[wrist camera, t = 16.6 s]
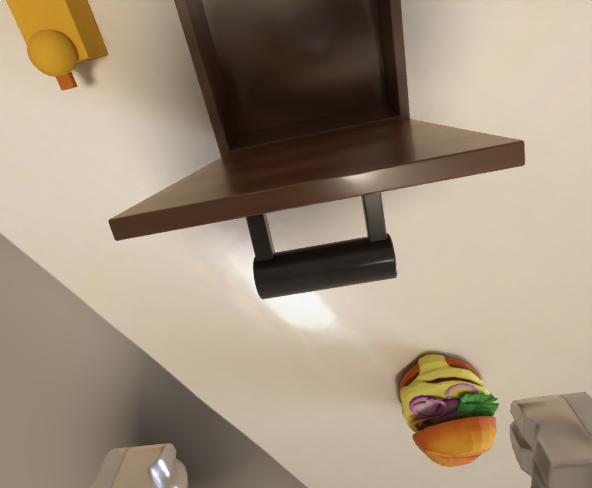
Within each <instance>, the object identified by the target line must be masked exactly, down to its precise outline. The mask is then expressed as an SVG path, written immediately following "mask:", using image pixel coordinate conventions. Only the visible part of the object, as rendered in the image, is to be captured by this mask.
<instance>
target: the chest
mask: <svg viewBox="0 0 592 488" xmlns="http://www.w3.org/2000/svg"><path fill="white" fill-rule="evenodd" d="M174 1H175V4H176V7H177V11H178V14H179V17H180V21H181V24H182V27H183V31H184V34H185V37H186V41H187V44H188V47H189V51H190V54H191V57H192V61H193V64H194V67H195V71H196V74H197V77H198V81H199V84H200V87H201V91H202V94H203V97H204V101H205V104H206V107H207V111H208V114H209V117H210V120H211V124H212V127H213V130H214V134H215V137H216V140H217V144H218V147H219V150H220V154H221V157H227V156H232V155H237V154H242V153H247V152H252V151H257V150H262V149H267V148H271V147H276V146H281V145H286V144H291V143H296V142H301V141H306V140H311V139H316V138H321V137H326V136H331V135H335V134H340V133H345V132H350V131H355V130H360V129H365V128H370V127H375V126H380V125H385V124H390V123H395V122H399V121H404V120H409V119H410V113H409V101H408V88H407V75H406V63H405V50H404V38H403V25H402V12H401V0H174Z"/></svg>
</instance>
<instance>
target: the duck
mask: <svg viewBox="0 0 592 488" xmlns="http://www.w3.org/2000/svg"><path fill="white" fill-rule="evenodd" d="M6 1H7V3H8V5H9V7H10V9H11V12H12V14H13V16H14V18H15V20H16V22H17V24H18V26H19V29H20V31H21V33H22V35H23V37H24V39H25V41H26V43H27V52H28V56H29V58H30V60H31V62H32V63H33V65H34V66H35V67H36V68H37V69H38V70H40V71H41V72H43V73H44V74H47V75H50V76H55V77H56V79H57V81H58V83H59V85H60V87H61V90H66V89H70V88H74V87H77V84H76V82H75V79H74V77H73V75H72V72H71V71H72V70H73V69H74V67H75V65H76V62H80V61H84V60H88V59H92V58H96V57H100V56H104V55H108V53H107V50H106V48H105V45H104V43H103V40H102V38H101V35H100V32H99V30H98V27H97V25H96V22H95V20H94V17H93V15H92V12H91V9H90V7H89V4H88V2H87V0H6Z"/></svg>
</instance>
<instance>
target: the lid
mask: <svg viewBox="0 0 592 488" xmlns="http://www.w3.org/2000/svg"><path fill="white" fill-rule="evenodd" d="M523 165H525V151H524V141H522V140H517V139H512V138H506V137H501V136H496V135H491V134H485V133H480V132H475V131H470V130H464V129H459V128H454V127H449V126H443V125H438V124H433V123H427V122H422V121H417V120H412V119H409V120H404V121H399V122H395V123H390V124H385V125H380V126H375V127H370V128H365V129H360V130H355V131H350V132H345V133H340V134H335V135H331V136H326V137H321V138H316V139H311V140H306V141H301V142H296V143H291V144H286V145H281V146H276V147H271V148H267V149H262V150H257V151H252V152H247V153H242V154H237V155H232V156H227V157H222V158H220V159H218V160H216V161H214V162H212V163H210V164H209V165H207V166H205V167H203V168H201V169H200V170H198V171H196V172H194V173H192V174H191V175H189V176H187V177H185V178H183V179H182V180H180V181H178V182H176V183H174V184H173V185H171V186H169V187H167V188H165V189H164V190H162V191H160V192H158V193H156V194H155V195H153V196H151V197H149V198H147V199H146V200H144V201H142V202H140V203H138V204H137V205H135V206H133V207H131V208H129V209H128V210H126V211H124V212H122V213H120V214H118V215H117V216H115V217H113V218H111V219H110V220H109V224H110V227H111V230H112V233H113V236H114V239H115V240H116V241H119V240H124V239H129V238H135V237H140V236H146V235H151V234H156V233H162V232H167V231H173V230H178V229H184V228H189V227H194V226H200V225H205V224H211V223H216V222H221V221H227V220H232V219H238V218H243V217H246V220H247V224H248V228H249V232H250V236H251V240H252V244H253V248H254V252H255V256H256V257H255V258H254V262H253V273H254V280H255V285H256V289H257V292H258V294H259V296H260V298H261V299H267V298H274V297H280V296H286V295H292V294H298V293H305V292H311V291H317V290H323V289H330V288H336V287H342V286H348V285H355V284H361V283H367V282H373V281H380V280H386V279H392V278H396V277H397V264H396V258H395V252H394V247H393V243H392V240H391V237H390V235H389V234H388V233H386V227H385V220H384V212H383V205H382V198H381V192H384V191H389V190H395V189H400V188H406V187H411V186H416V185H422V184H427V183H433V182H438V181H443V180H449V179H454V178H460V177H465V176H471V175H476V174H481V173H487V172H492V171H498V170H503V169H508V168H514V167H519V166H523ZM357 196H361V198H362V205H363V211H364V217H365V224H366V230H367V237H363V238H357V239H351V240H346V241H340V242H334V243H328V244H323V245H317V246H311V247H305V248H299V249H294V250H288V251H282V252H276V253H275V250H274V246H273V241H272V237H271V233H270V228H269V224H268V220H267V215H266V213H270V212H276V211H281V210H286V209H292V208H297V207H303V206H308V205H313V204H319V203H324V202H330V201H335V200H341V199H346V198H351V197H357Z"/></svg>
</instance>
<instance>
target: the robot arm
mask: <svg viewBox="0 0 592 488" xmlns="http://www.w3.org/2000/svg"><path fill="white" fill-rule="evenodd" d="M510 412H511V414H512V416H513V418H514V421H513V422H512V423H511V424H510V439H511V443H512V448H513V451H514V453H515V456H516V459H517V461H518V463H519V465H520V467H521V469H522V470H523V471H525V472H526V473H527V474H529V475H530V476H531V477H532V479H531V488H592V398H591V397H590V396H589V395H588V394H587V393H585V392H578V393H571V394H563V395H551V396H543V397H536V398H529V399H521V400H514V401H513V402H512V403H511V410H510ZM176 452H177V451H176V450H175V448H174V446H173V445H172V443H169V444H158V445H148V446H137V447H127V448H118V449H112V450H111V451H110V452H109V453H108V454H107V455H106V457H105V459H104V461H103V463H102V465H101V467H100V470H99V472H98V474H97V476H96V478H95V480H94V483H93V485H92V487H91V488H187V487H188V477H187V472H186V469H185V467H184V465H183V463H182V462H180V461H178V460H177V459H175V456H176Z"/></svg>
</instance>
